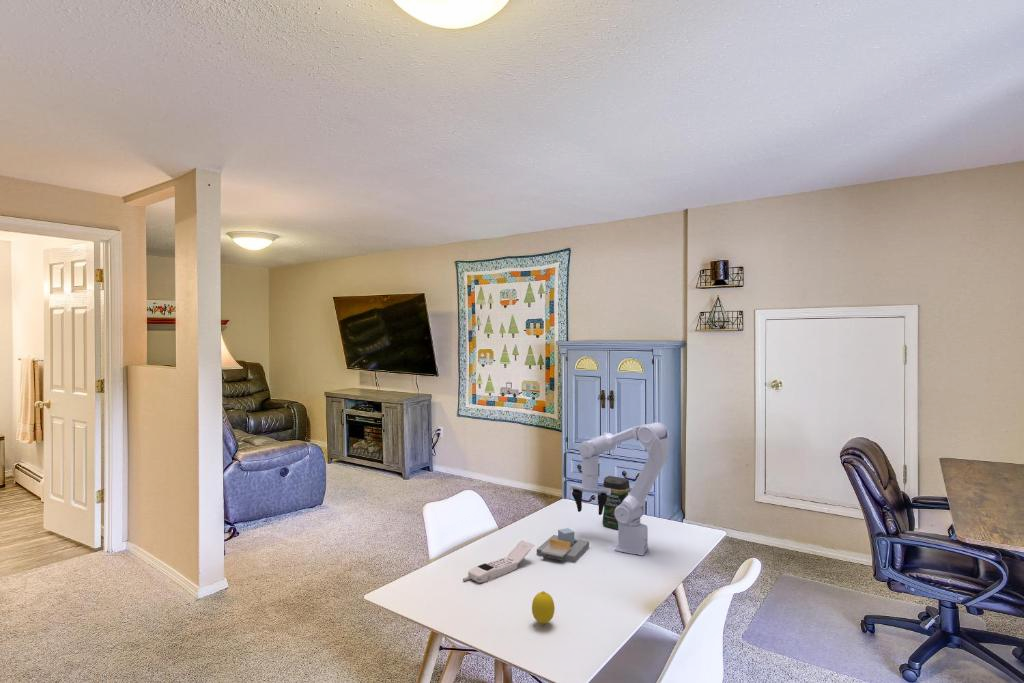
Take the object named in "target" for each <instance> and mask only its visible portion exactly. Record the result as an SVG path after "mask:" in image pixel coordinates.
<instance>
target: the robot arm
mask: <svg viewBox="0 0 1024 683" xmlns="http://www.w3.org/2000/svg"><path fill="white" fill-rule="evenodd" d="M669 438H670V434H669V432H668V429H667V426H666V425H665V424H663V422H660V421H655V422H652V423H646V424H645V423H644V424H641V425H637V426H632V427H630V428H628V429H625V430H622V431H620V432H618V433H615V434H612V433H611V432H607V431H605V432H603V433H602V432H601V435H599V436H593V437H591V438H590V440H584V441H582V442H580V444H579V447H578V451H579V453H580V455H581V483H570V484H569V490H570V491H572V492H571V495H572V497H573V500H574V501H575V505H576V508H577V512H579V513H580V512H581V511H582V510H583V509H582V508H583V505H582V504H583V503H582V502H583V501H582V500H583V492H587V493H593V494H598V495H597V500H598V516H601V515H603V512H604V504H605V501H606V499H607V497H608V495H610V494H611V489H610V488H605V487H603V486H600V485H599V459H600V455H601V454H603V453H606V452H609V451H613V450H615V449H616V448H617V446H618V444H620V443H624V442H626V441H630V440H632V439H633V440H635V441H639V442H640V443H641V445H642V446H643V448H644V449H645V450H646V452H647V453H648V458H647V459H646V462H645V463H644V465H643V467H642V469H641V471H640V472H639V475H638V477H637V478H636V480H635V482H634V484H633V486H632V487H631V488H630V490H629V493H628V496H627V497H626V498H625V499H624V500H623V501H622V503H621V504H620V505H619V506H617V507H616V509H615V512H614V514H615V518H616V520H617V521H618V529H617V530H618V532H617V535H618V537H617V538H618V540H617V542H618V543H617V545H616V546H615V547H614V551H615V552H621V553H625V554H626V553H627V554H632V555H636V554H638V556H644V555H645V554H646V552H647V550H648V549H649V546H648V545H649V544H648V543H649V542H648V541H649V534H648V533H649V532H648V530H649V529H648V525H647V524H643V523H641V517H642V516H643V515H644V513H645V505H646V499H647V496H648V494H649V492H650V491H651V489H652V487H653V486H654V483H655V482H656V481H657V480H656V479H657V477H658V476H659V474H660V472H661V470H662V468H663V467H664V464H665V463H666V461H667V459H668V457H669V456H668V455H669V453H668V452H669V451H668V449H669V448H668V446H669V442H668V441H669ZM647 548H648V549H647ZM645 551H646V552H645Z"/></svg>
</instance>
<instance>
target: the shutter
mask: <svg viewBox="0 0 1024 683" xmlns="http://www.w3.org/2000/svg"><path fill="white" fill-rule="evenodd" d="M571 549H572V547H571V542H567V541H562V540H556V539H550V544H548V545H547V546H546V547H545V548H544V549H543V550H542V551H541V553H545V554H550V555H555V556H560V557H564V556H565V555H566V554H567V553H568V552H569V551H570V550H571Z"/></svg>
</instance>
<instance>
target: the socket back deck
mask: <svg viewBox="0 0 1024 683" xmlns="http://www.w3.org/2000/svg"><path fill="white" fill-rule="evenodd" d="M548 544H550V543H547V542H546V541H544V542H543V543H542V544H541V545H540V546H539V547H537V548H536V556H537V555H538V557H542V556H543V557H542V558H547V557H548V558H549V559H552V558H553V560H558V561H562V562H567V561H568V563H572V564H574V563H577V561H578V560H579V559H580V558H581V557H582V555H583V554H582V549H580V548H574V547H572V549H571V550H570V551H569V552H568V553H567V554H566V555H565V556H564V557H560V556H555V555H550V554H545V553H541V551H542V550H543V549H544V548H545V547H546V546H547V545H548ZM580 556H581V557H580ZM579 557H580V558H579Z"/></svg>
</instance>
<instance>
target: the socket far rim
mask: <svg viewBox="0 0 1024 683" xmlns="http://www.w3.org/2000/svg"><path fill="white" fill-rule="evenodd" d="M550 539H556V540H558V537H553V535H551V536H550V537H549V538H548V539H547V540H546V541H545V542H547V543H550Z"/></svg>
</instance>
